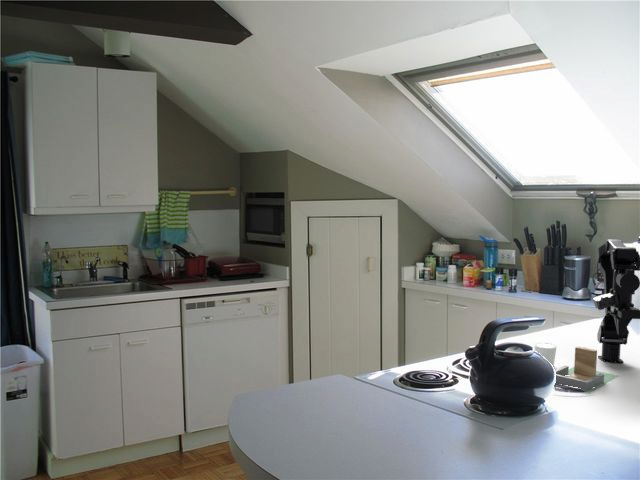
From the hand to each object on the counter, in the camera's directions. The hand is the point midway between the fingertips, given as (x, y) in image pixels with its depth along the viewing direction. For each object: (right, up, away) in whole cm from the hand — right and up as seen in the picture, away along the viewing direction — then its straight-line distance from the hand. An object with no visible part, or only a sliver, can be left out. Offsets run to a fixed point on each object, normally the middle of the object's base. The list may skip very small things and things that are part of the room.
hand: (619, 334), depth 220 cm
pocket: (-18, -13, -10) cm, 24 cm away
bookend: (-16, -13, -9) cm, 23 cm away
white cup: (-22, -11, +7) cm, 25 cm away
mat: (-15, -13, -7) cm, 21 cm away
